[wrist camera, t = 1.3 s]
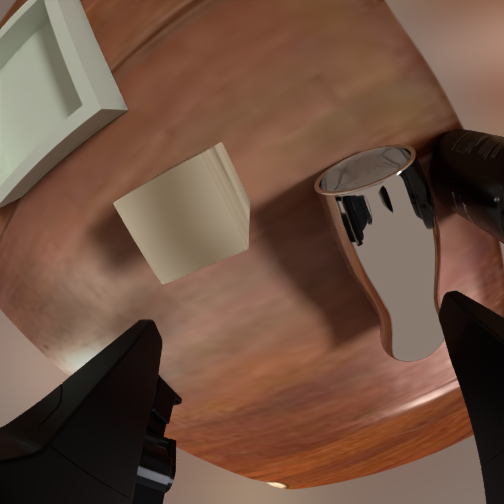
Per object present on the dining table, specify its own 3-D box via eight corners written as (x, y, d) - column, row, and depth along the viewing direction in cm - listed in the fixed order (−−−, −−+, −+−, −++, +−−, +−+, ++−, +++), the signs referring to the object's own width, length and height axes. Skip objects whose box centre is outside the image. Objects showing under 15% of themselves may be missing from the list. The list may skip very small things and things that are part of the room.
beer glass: (467, 334, 17) (442, 149, 12) (396, 382, 18) (334, 208, 13) (425, 291, 24) (381, 139, 18) (365, 329, 25) (298, 181, 19)
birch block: (193, 226, 21) (162, 285, 13) (163, 171, 19) (112, 203, 12) (250, 200, 20) (248, 249, 13) (221, 141, 18) (200, 153, 11)
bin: (22, 196, 19) (-7, 211, 16) (-17, 88, 14) (-45, 91, 11) (128, 109, 17) (101, 108, 13) (77, -7, 12) (51, -21, 8)
